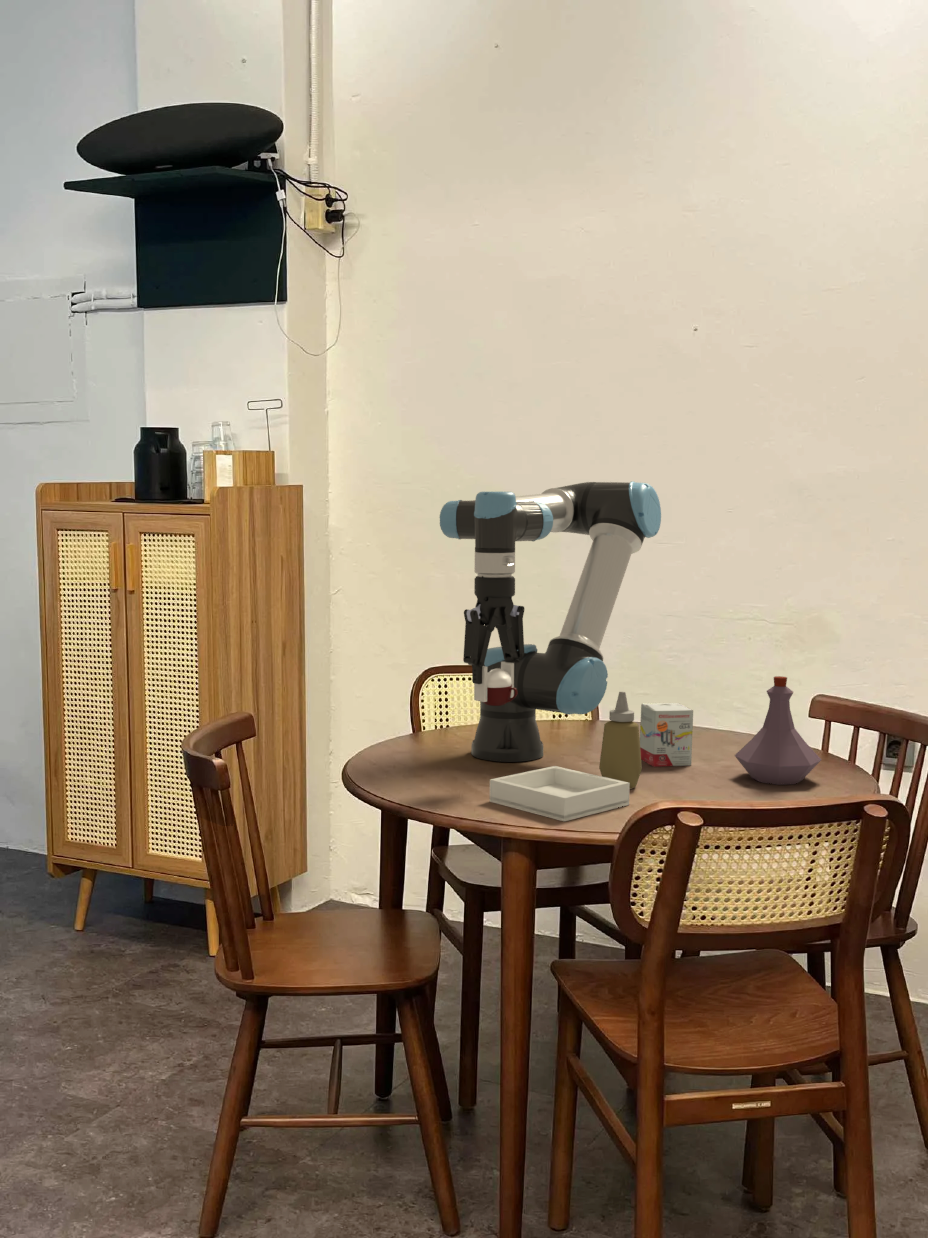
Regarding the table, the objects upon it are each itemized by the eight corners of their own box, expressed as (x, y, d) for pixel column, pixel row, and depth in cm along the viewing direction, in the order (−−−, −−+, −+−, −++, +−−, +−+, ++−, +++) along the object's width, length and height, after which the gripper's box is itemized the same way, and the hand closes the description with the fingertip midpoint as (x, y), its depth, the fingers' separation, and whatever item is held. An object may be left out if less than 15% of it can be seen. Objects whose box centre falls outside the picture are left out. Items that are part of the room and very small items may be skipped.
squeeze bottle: (595, 781, 239) (597, 688, 237) (636, 781, 239) (639, 688, 238) (602, 792, 231) (604, 695, 229) (645, 791, 231) (648, 695, 229)
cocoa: (521, 707, 231) (525, 643, 230) (495, 710, 228) (499, 645, 226) (489, 698, 239) (493, 636, 237) (463, 700, 235) (467, 637, 234)
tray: (554, 786, 234) (554, 765, 234) (629, 805, 221) (629, 782, 221) (489, 801, 223) (489, 779, 222) (564, 821, 210) (564, 798, 209)
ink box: (652, 767, 252) (654, 709, 251) (638, 758, 260) (639, 702, 259) (692, 765, 254) (694, 708, 253) (677, 757, 262) (678, 701, 261)
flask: (715, 776, 245) (718, 675, 243) (774, 766, 254) (777, 669, 252) (779, 793, 231) (783, 686, 229) (839, 782, 240) (843, 679, 238)
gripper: (470, 579, 221) (470, 707, 224) (545, 573, 234) (544, 695, 237) (442, 576, 227) (442, 702, 229) (516, 571, 240) (515, 690, 242)
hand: (494, 698), depth 233 cm, fingers closed on cocoa, 6 cm apart
